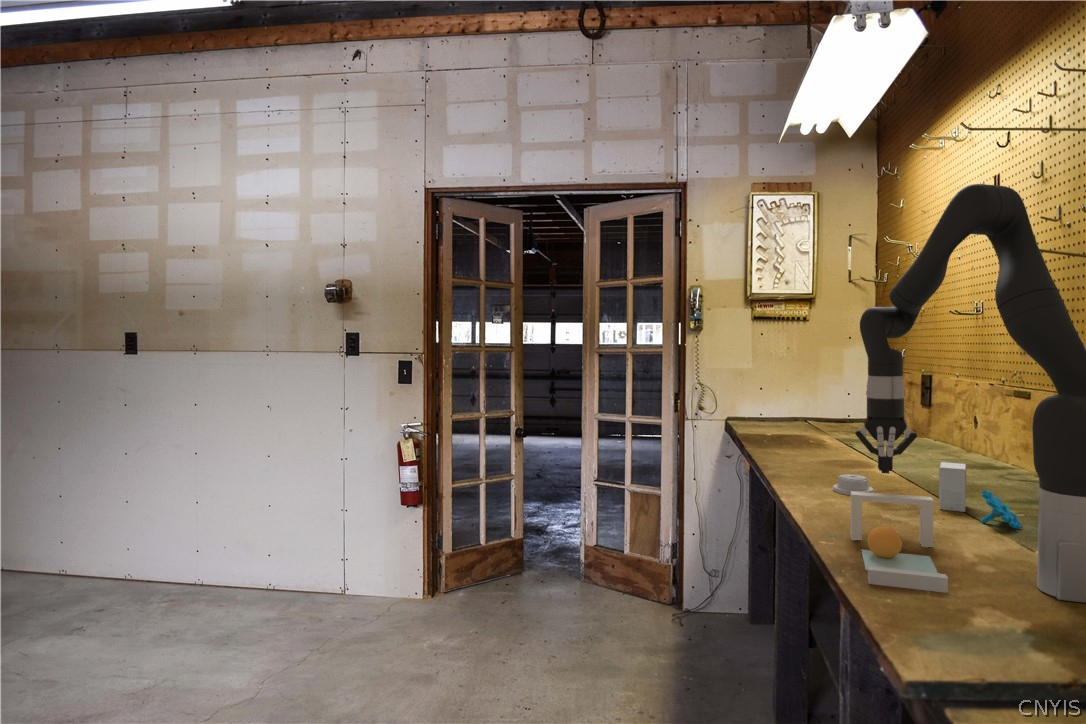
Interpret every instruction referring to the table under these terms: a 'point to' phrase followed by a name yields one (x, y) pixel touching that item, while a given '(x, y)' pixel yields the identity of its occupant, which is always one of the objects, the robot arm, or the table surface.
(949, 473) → the small box
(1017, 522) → the blue branched figurine
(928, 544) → the bridge
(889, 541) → the ball
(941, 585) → the stopper wall
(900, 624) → the table surface
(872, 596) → the table surface
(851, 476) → the mechanical component
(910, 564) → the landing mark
